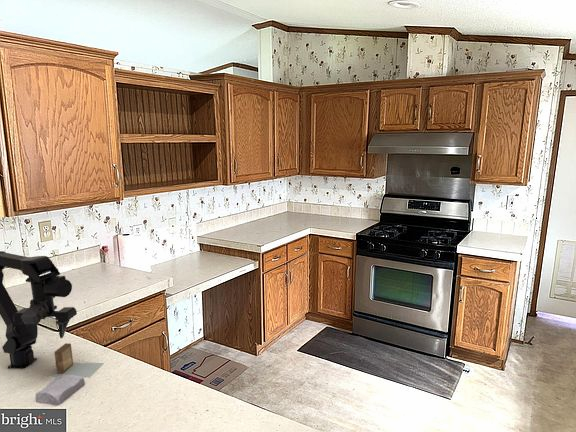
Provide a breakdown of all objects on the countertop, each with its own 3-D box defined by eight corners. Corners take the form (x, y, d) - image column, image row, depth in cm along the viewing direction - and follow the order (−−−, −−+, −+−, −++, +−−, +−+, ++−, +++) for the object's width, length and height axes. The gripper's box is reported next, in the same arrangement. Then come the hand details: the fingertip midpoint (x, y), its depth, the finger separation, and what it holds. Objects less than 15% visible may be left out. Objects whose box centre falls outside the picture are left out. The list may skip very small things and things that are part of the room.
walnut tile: (57, 373, 137) (54, 352, 136) (67, 364, 143) (65, 343, 141) (62, 374, 137) (60, 352, 135) (73, 364, 143) (71, 343, 141)
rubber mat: (47, 377, 136) (47, 376, 136) (63, 362, 144) (63, 362, 144) (90, 378, 134) (89, 377, 134) (104, 363, 143) (104, 363, 143)
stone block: (33, 409, 122) (61, 407, 120) (29, 394, 121) (56, 392, 119) (62, 388, 133) (88, 385, 131) (59, 374, 133) (84, 371, 131)
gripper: (-3, 304, 128) (5, 350, 130) (54, 302, 127) (61, 349, 129) (22, 291, 139) (28, 334, 141) (74, 290, 138) (80, 333, 140)
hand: (48, 338), depth 138 cm, fingers open, 9 cm apart
